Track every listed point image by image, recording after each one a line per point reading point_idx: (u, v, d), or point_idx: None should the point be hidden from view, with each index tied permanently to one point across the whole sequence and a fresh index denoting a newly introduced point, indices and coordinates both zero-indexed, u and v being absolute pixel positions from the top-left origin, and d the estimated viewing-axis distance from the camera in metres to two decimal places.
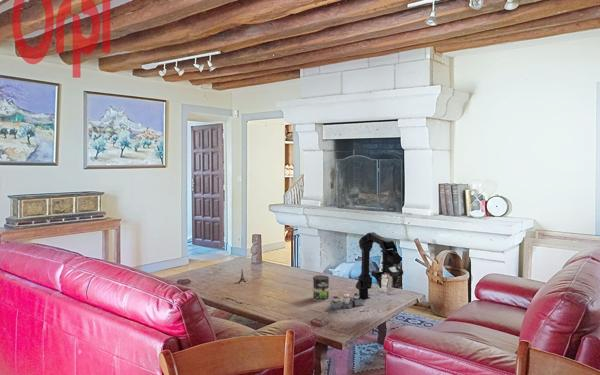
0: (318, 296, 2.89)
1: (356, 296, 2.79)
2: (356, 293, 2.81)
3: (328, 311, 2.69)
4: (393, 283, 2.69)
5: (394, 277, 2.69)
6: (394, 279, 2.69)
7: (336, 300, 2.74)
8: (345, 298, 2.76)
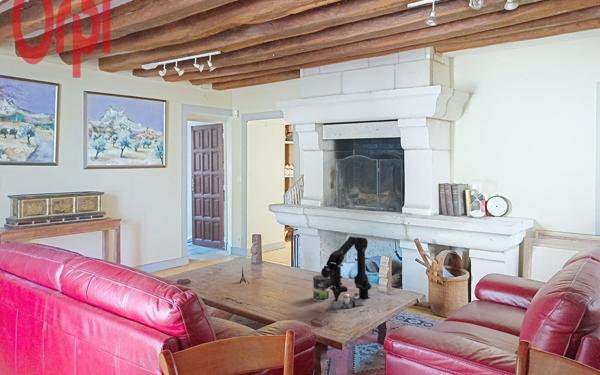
0: (318, 296, 2.89)
1: (356, 296, 2.79)
2: (356, 293, 2.81)
3: (328, 311, 2.69)
4: None
5: None
6: None
7: None
8: (345, 298, 2.76)
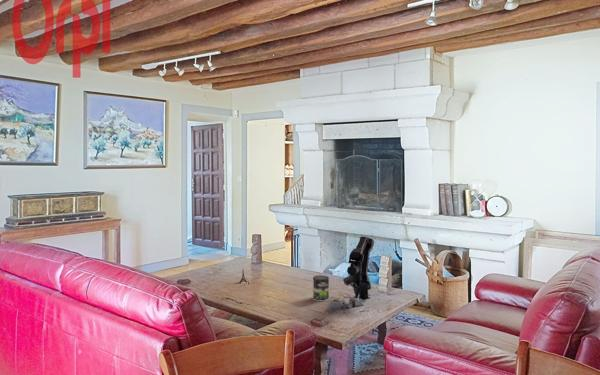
0: (318, 296, 2.89)
1: (356, 299, 2.79)
2: None
3: (328, 311, 2.69)
4: None
5: None
6: None
7: None
8: (345, 298, 2.76)
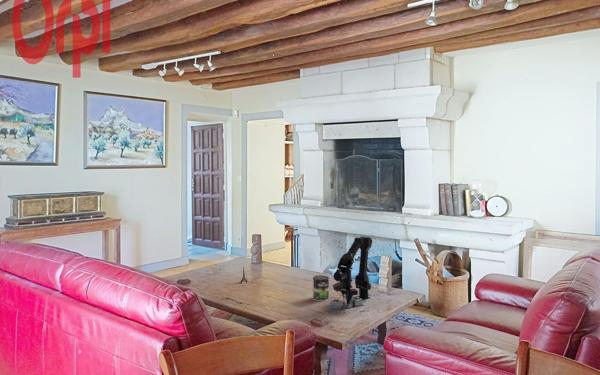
0: (318, 296, 2.89)
1: (356, 299, 2.79)
2: None
3: (328, 311, 2.69)
4: None
5: None
6: None
7: None
8: (345, 298, 2.76)
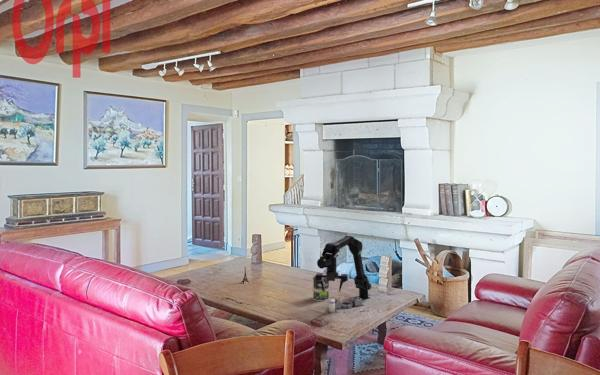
0: (318, 296, 2.89)
1: (356, 299, 2.79)
2: None
3: (328, 311, 2.69)
4: (339, 288, 2.67)
5: (340, 282, 2.66)
6: None
7: None
8: (333, 303, 2.67)
